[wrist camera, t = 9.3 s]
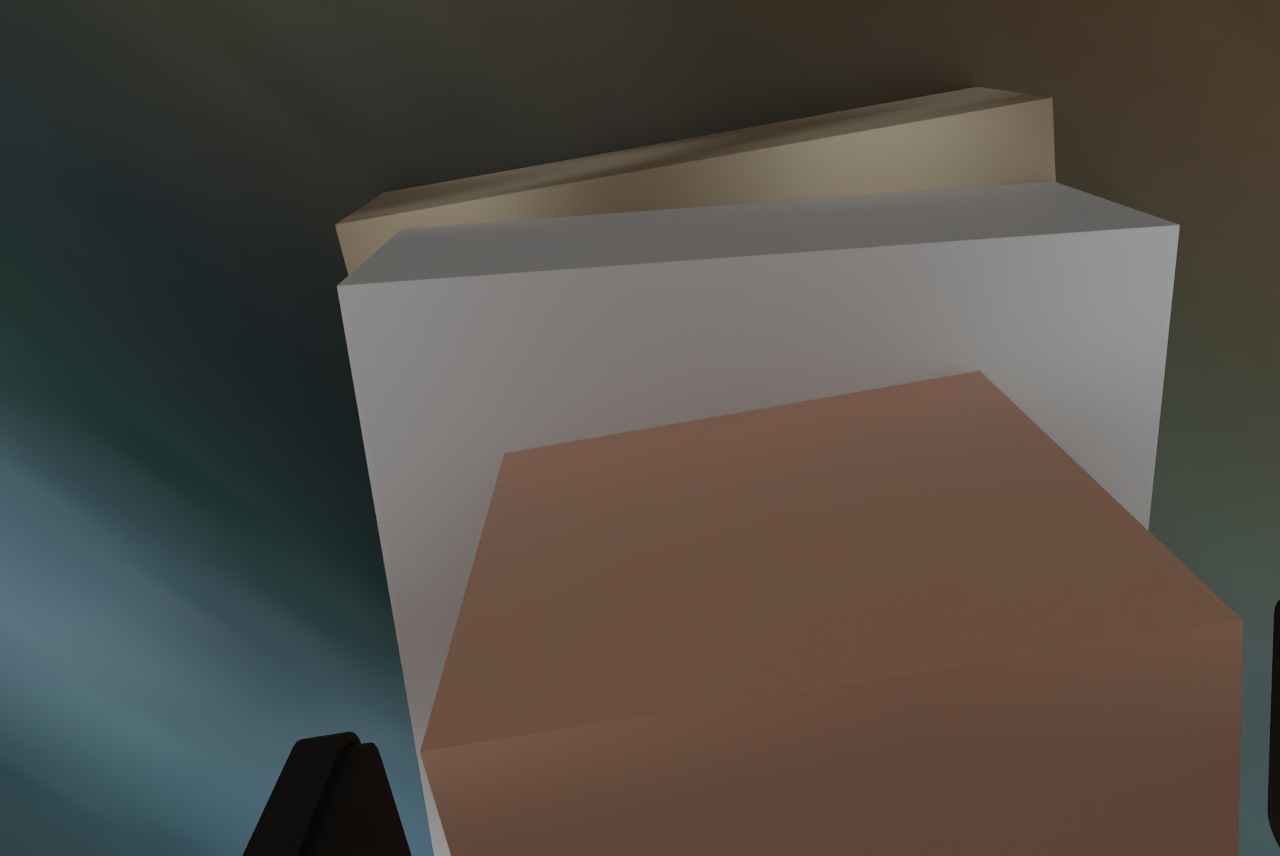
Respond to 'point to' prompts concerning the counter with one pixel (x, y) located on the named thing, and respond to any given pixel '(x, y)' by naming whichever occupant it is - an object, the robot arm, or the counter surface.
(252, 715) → the counter surface
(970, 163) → the maple base slab
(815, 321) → the grey top slab
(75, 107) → the counter surface
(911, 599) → the terracotta cube
